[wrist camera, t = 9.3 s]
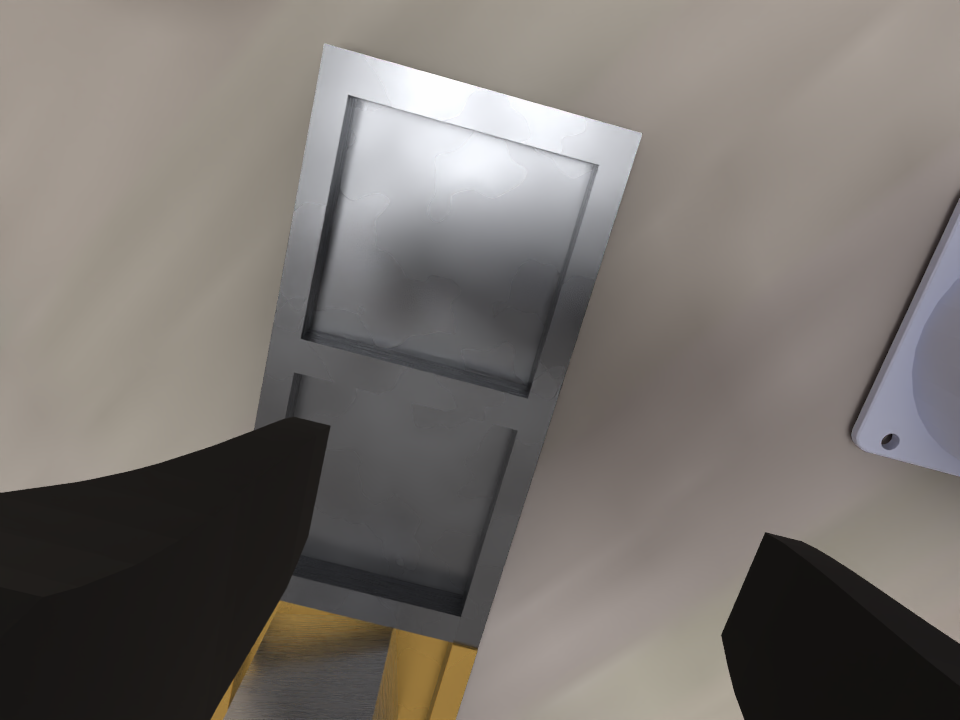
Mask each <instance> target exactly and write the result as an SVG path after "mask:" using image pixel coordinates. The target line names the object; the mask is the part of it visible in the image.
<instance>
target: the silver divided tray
mask: <svg viewBox="0 0 960 720" xmlns="http://www.w3.org/2000/svg"><path fill="white" fill-rule="evenodd" d="M641 137H642V133H640V132H636V131H633V130H629V129H625V128H622V127H618V126H615V125H611V124H608V123H604V122H601V121H597V120H594V119H590V118H587V117H583V116H579V115H576V114H572V113H569V112H565V111H562V110H558V109H555V108H551V107H548V106H544V105H541V104H537V103H534V102H530V101H526V100H523V99H519V98H516V97H512V96H509V95H505V94H502V93H498V92H495V91H491V90H488V89H484V88H481V87H477V86H473V85H470V84H466V83H463V82H459V81H456V80H452V79H449V78H445V77H442V76H438V75H435V74H431V73H428V72H424V71H420V70H417V69H413V68H410V67H406V66H403V65H399V64H396V63H392V62H389V61H385V60H382V59H378V58H375V57H371V56H367V55H364V54H360V53H357V52H353V51H350V50H346V49H343V48H339V47H336V46H332V45H329V44H325V43H324V48H323V54H322V59H321V65H320V70H319V76H318V81H317V87H316V92H315V98H314V103H313V109H312V114H311V120H310V125H309V131H308V136H307V142H306V147H305V153H304V158H303V164H302V169H301V175H300V180H299V186H298V191H297V197H296V202H295V208H294V213H293V219H292V224H291V230H290V235H289V241H288V246H287V252H286V257H285V263H284V268H283V274H282V279H281V285H280V290H279V296H278V301H277V307H276V312H275V318H274V323H273V329H272V334H271V340H270V345H269V351H268V356H267V362H266V367H265V373H264V378H263V384H262V389H261V395H260V400H259V406H258V411H257V417H256V422H255V428H254V430H256V429H259V428H261V427H264V426H266V425H269V424H271V423H274V422H277V421H279V420H282V419H285V418H289V417H298V418H302V419H306V420H310V421H314V422H318V423H322V424H326V425H330V426H331V427H330V432H329V437H328V442H327V447H326V452H325V457H324V461H323V466H322V471H321V476H320V481H319V486H318V491H317V496H316V501H315V506H314V511H313V516H312V521H311V526H310V531H309V536H308V539H307V541H306V543H305V546H304V548H303V551H302V553H301V556H300V558H299V561H298V563H297V565H296V568H295V570H294V572H293V575H292V577H291V579H290V582H289V584H288V586H287V588H286V590H285V592H284V594H283V596H282V597H281V599H280V601H279V603H278V604H277V606H276V608H275V609H274V611H273V613H272V615H271V616H270V618H269V620H268V621H267V623H266V625H265V627H264V628H263V630H262V632H261V634H260V635H259V637H258V639H257V640H256V642H255V644H254V645H253V647H252V649H251V651H250V652H249V654H248V656H247V657H246V659H245V661H244V662H243V664H242V666H241V668H240V669H239V671H238V673H237V674H236V676H235V678H234V679H233V681H232V683H231V685H230V686H229V688H228V690H227V691H226V693H225V695H224V696H223V698H222V700H221V702H220V703H219V705H218V707H217V709H216V710H215V712H214V714H213V716H212V718H211V720H223V719H224V717H225V715H226V713H227V711H228V709H229V706H230V704H231V702H232V700H233V698H234V696H235V694H236V692H237V690H238V688H239V686H240V684H241V682H242V680H243V678H244V676H245V674H246V672H247V670H248V668H249V666H250V664H251V662H252V660H253V658H254V656H255V654H256V652H257V650H258V648H259V646H260V644H261V642H262V639H263V637H264V635H265V633H266V631H267V629H268V627H269V625H270V623H271V621H272V619H273V617H274V615H275V613H277V614H309V615H340V616H345V617H350V618H354V619H358V620H362V621H366V622H370V623H374V624H378V625H382V626H386V627H391V628H395V629H396V649H397V687H398V719H397V720H455V719H456V716H457V713H458V710H459V707H460V704H461V701H462V698H463V695H464V691H465V688H466V685H467V682H468V679H469V676H470V673H471V670H472V666H473V663H474V660H475V657H476V654H477V650H478V646H479V643H480V640H481V636H482V633H483V630H484V627H485V624H486V621H487V618H488V615H489V611H490V608H491V605H492V602H493V599H494V596H495V593H496V590H497V586H498V583H499V580H500V577H501V574H502V571H503V568H504V565H505V561H506V558H507V555H508V552H509V549H510V546H511V543H512V540H513V536H514V533H515V530H516V527H517V524H518V521H519V518H520V515H521V511H522V508H523V505H524V502H525V499H526V496H527V493H528V490H529V486H530V483H531V480H532V477H533V474H534V471H535V468H536V465H537V461H538V458H539V455H540V452H541V449H542V446H543V443H544V440H545V436H546V433H547V430H548V427H549V424H550V421H551V418H552V415H553V412H554V408H555V405H556V402H557V399H558V396H559V393H560V390H561V387H562V383H563V380H564V377H565V374H566V371H567V368H568V365H569V362H570V358H571V355H572V352H573V349H574V346H575V343H576V340H577V337H578V333H579V330H580V327H581V324H582V321H583V318H584V315H585V312H586V308H587V305H588V302H589V299H590V296H591V293H592V290H593V287H594V283H595V280H596V277H597V274H598V271H599V268H600V265H601V262H602V258H603V255H604V252H605V249H606V246H607V243H608V240H609V237H610V233H611V230H612V227H613V224H614V221H615V218H616V215H617V212H618V208H619V205H620V202H621V199H622V196H623V193H624V190H625V187H626V183H627V180H628V177H629V174H630V171H631V168H632V165H633V162H634V158H635V155H636V152H637V149H638V146H639V143H640V140H641Z"/></svg>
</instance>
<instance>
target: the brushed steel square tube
mask: <svg viewBox="0 0 960 720" xmlns="http://www.w3.org/2000/svg"><path fill="white" fill-rule="evenodd" d="M397 719H398V687H397V649H396V629H395V628H391V627H386V626H382V625H378V624H374V623H370V622H366V621H362V620H358V619H354V618H350V617H345V616H340V615H309V614H277V613H275V615H274V617H273V619H272V621H271V623H270V625H269V627H268V629H267V631H266V633H265V635H264V637H263V639H262V642H261V644H260V646H259V648H258V650H257V652H256V654H255V656H254V658H253V660H252V662H251V664H250V666H249V668H248V670H247V672H246V674H245V676H244V678H243V680H242V682H241V684H240V686H239V688H238V690H237V692H236V694H235V696H234V698H233V700H232V702H231V704H230V706H229V709H228V711H227V713H226V715H225V717H224V719H223V720H397Z"/></svg>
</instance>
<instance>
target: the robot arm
mask: <svg viewBox="0 0 960 720" xmlns="http://www.w3.org/2000/svg"><path fill="white" fill-rule="evenodd" d="M330 427H331V426H330V425H326V424H322V423H318V422H314V421H310V420H306V419H302V418H298V417H289V418H285V419H282V420H279V421H277V422H274V423H271V424H269V425H266V426H264V427H261V428H259V429H256V430H254V431H251V432H248V433H246V434H243V435H241V436H238V437H235V438H233V439H230V440H227V441H225V442H222V443H220V444H217V445H214V446H211V447H208V448H205V449H202V450H199V451H196V452H193V453H190V454H187V455H184V456H180V457H177V458H174V459H171V460H168V461H165V462H162V463H159V464H155V465H151V466H148V467H144V468H140V469H136V470H132V471H128V472H124V473H119V474H115V475H110V476H105V477H101V478H96V479H91V480H86V481H80V482H75V483H68V484H61V485H53V486H46V487H39V488H32V489H25V490H18V491H11V492H4V493H0V720H211V718H212V716H213V714H214V712H215V710H216V709H217V707H218V705H219V703H220V702H221V700H222V698H223V696H224V695H225V693H226V691H227V690H228V688H229V686H230V685H231V683H232V681H233V679H234V678H235V676H236V674H237V673H238V671H239V669H240V668H241V666H242V664H243V662H244V661H245V659H246V657H247V656H248V654H249V652H250V651H251V649H252V647H253V645H254V644H255V642H256V640H257V639H258V637H259V635H260V634H261V632H262V630H263V628H264V627H265V625H266V623H267V621H268V620H269V618H270V616H271V615H272V613H273V611H274V609H275V608H276V606H277V604H278V603H279V601H280V599H281V597H282V596H283V594H284V592H285V590H286V588H287V586H288V584H289V582H290V579H291V577H292V575H293V572H294V570H295V568H296V565H297V563H298V561H299V558H300V556H301V553H302V551H303V548H304V546H305V543H306V541H307V539H308V536H309V531H310V526H311V521H312V516H313V511H314V506H315V501H316V496H317V491H318V486H319V481H320V476H321V471H322V466H323V461H324V457H325V452H326V447H327V442H328V437H329V432H330ZM888 434H893V435H892V439H891V440H890V441H889V443H886V444H884V445H881V442H882V439H883V438H884V436H886V435H888ZM851 436H852V441H853V442H854V443H855V444H856V446H858V447H859V448H860V449H862V450H864V451H866V452H869V453H872V454H876V455H880V456H884V457H887V458H891V459H895V460H899V461H902V462H906V463H910V464H914V465H918V466H921V467H925V468H929V469H933V470H936V471H940V472H944V473H948V474H952V475H955V476H959V477H960V198H959V201H958V203H957V205H956V207H955V209H954V211H953V214H952V216H951V218H950V220H949V222H948V224H947V226H946V229H945V231H944V233H943V235H942V237H941V239H940V242H939V244H938V246H937V248H936V250H935V252H934V255H933V257H932V259H931V261H930V263H929V265H928V267H927V270H926V272H925V274H924V276H923V278H922V280H921V283H920V285H919V287H918V289H917V291H916V293H915V295H914V298H913V300H912V302H911V304H910V306H909V308H908V311H907V313H906V315H905V317H904V319H903V321H902V324H901V326H900V328H899V330H898V332H897V334H896V336H895V339H894V341H893V343H892V345H891V347H890V349H889V352H888V354H887V356H886V358H885V360H884V362H883V364H882V367H881V369H880V371H879V373H878V375H877V377H876V380H875V382H874V384H873V386H872V388H871V390H870V393H869V395H868V397H867V399H866V401H865V403H864V405H863V408H862V410H861V412H860V414H859V416H858V418H857V421H856V423H855V425H854V427H853V430H852V434H851ZM721 636H722V641H723V646H724V650H725V655H726V660H727V665H728V669H729V673H730V677H731V681H732V685H733V689H734V692H735V696H736V698H737V701H738V704H739V706H740V709H741V712H742V714H743V717H744V720H960V644H959V643H958V642H956V641H955V640H953V639H952V638H950V637H949V636H947V635H946V634H944V633H943V632H941V631H940V630H938V629H937V628H935V627H934V626H932V625H931V624H929V623H928V622H926V621H925V620H923V619H922V618H920V617H919V616H917V615H916V614H914V613H913V612H912V611H910V610H909V609H907V608H906V607H904V606H903V605H901V604H900V603H898V602H897V601H896V600H894V599H893V598H891V597H890V596H888V595H887V594H885V593H884V592H882V591H881V590H880V589H878V588H877V587H875V586H874V585H872V584H871V583H869V582H868V581H866V580H865V579H863V578H862V577H860V576H859V575H857V574H856V573H855V572H853V571H852V570H850V569H848V568H847V567H845V566H844V565H842V564H841V563H839V562H838V561H836V560H834V559H833V558H831V557H830V556H828V555H826V554H825V553H823V552H821V551H820V550H818V549H816V548H814V547H812V546H810V545H808V544H806V543H804V542H802V541H798V540H794V539H790V538H786V537H782V536H778V535H774V534H770V533H766V532H765V534H764V536H763V539H762V541H761V543H760V546H759V548H758V550H757V553H756V555H755V557H754V560H753V562H752V564H751V567H750V569H749V571H748V574H747V576H746V578H745V581H744V583H743V585H742V588H741V590H740V593H739V595H738V597H737V600H736V602H735V604H734V607H733V609H732V611H731V614H730V616H729V618H728V621H727V623H726V625H725V628H724V630H723V632H722V635H721Z"/></svg>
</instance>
